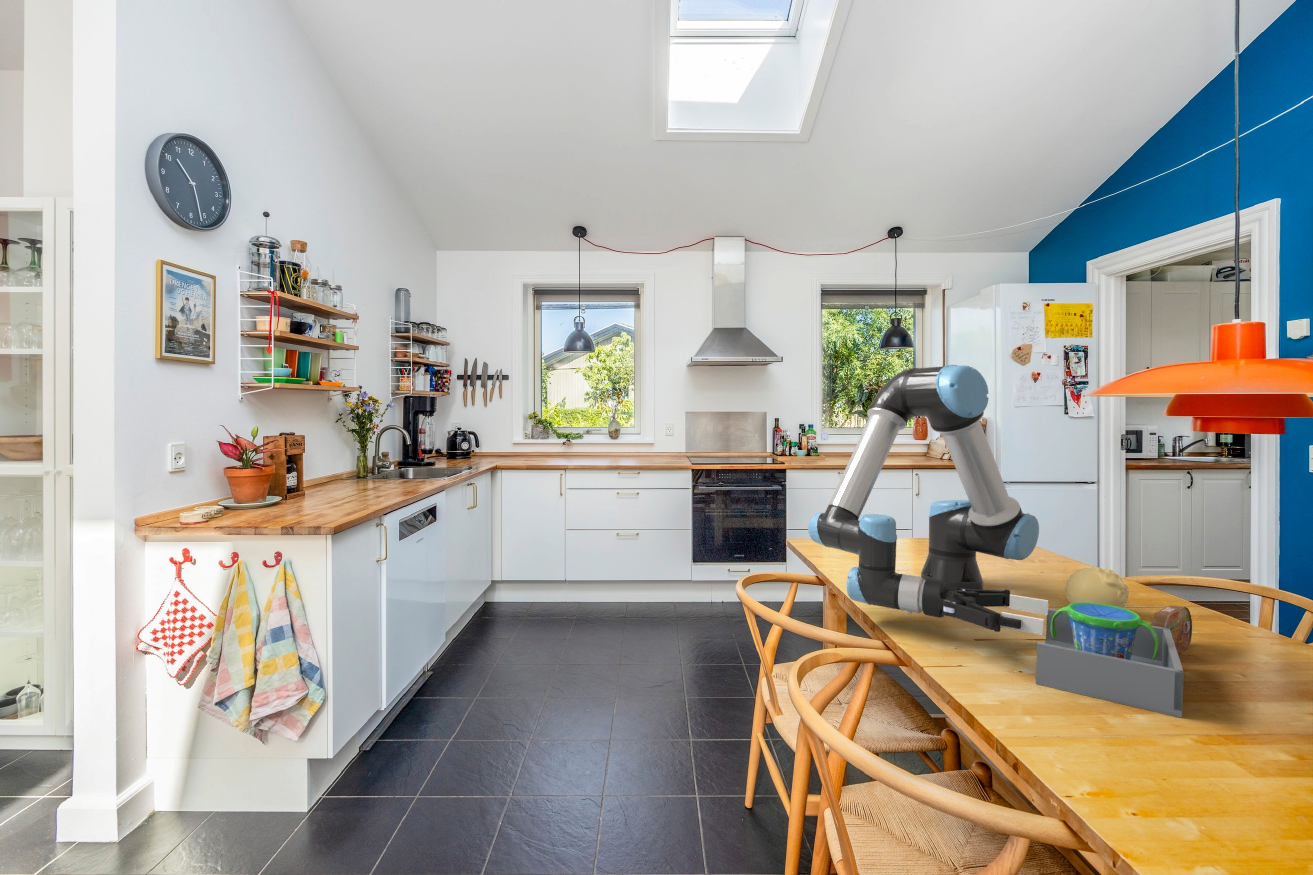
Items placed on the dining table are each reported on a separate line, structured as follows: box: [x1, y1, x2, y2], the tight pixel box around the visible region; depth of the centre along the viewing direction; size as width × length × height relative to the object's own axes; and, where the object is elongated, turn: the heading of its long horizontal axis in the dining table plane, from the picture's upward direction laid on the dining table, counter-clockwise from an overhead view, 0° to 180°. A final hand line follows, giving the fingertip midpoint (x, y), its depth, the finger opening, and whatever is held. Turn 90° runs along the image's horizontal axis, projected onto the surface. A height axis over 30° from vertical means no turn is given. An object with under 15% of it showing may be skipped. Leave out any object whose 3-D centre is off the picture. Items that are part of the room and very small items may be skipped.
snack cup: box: [1051, 602, 1159, 660], centre depth 108 cm, size 16×10×10 cm
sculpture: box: [1065, 565, 1130, 609], centre depth 142 cm, size 12×12×11 cm
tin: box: [1149, 605, 1193, 655], centre depth 119 cm, size 15×3×8 cm, turn 123°
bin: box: [1035, 607, 1185, 718], centre depth 107 cm, size 24×19×7 cm
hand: (1046, 617), depth 112 cm, fingers open, 13 cm apart
